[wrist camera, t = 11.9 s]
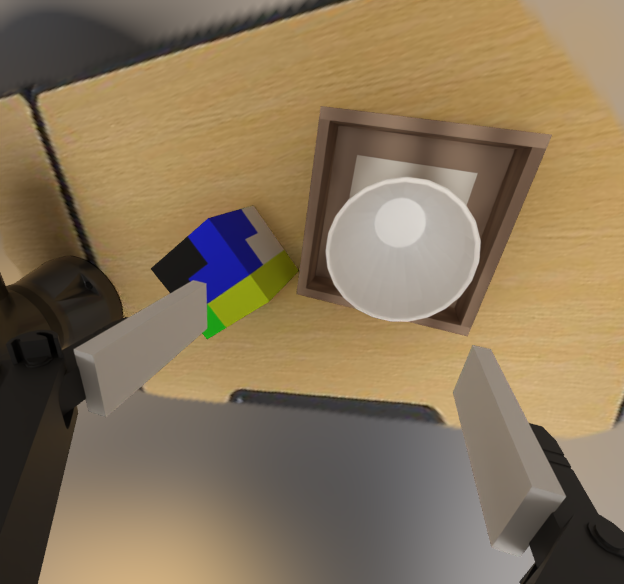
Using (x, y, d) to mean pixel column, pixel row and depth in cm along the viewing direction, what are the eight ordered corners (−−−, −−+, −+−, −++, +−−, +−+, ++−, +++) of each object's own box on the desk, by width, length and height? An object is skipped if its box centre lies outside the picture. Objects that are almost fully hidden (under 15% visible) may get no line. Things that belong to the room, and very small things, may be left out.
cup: (445, 158, 30) (474, 155, 18) (456, 259, 33) (487, 314, 21) (342, 186, 34) (309, 199, 22) (362, 275, 37) (342, 329, 25)
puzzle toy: (253, 205, 38) (208, 218, 29) (299, 270, 40) (269, 301, 31) (203, 246, 43) (150, 268, 34) (246, 304, 44) (207, 339, 35)
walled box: (308, 279, 40) (296, 294, 36) (332, 114, 32) (320, 106, 28) (459, 315, 36) (467, 336, 32) (528, 139, 28) (552, 134, 24)
